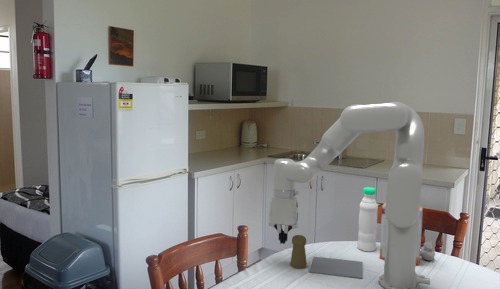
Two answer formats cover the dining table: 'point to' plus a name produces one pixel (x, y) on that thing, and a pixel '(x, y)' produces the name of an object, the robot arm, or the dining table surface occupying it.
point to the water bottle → (367, 221)
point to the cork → (298, 252)
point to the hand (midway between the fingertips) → (282, 242)
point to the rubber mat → (337, 267)
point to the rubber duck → (427, 251)
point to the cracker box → (383, 235)
